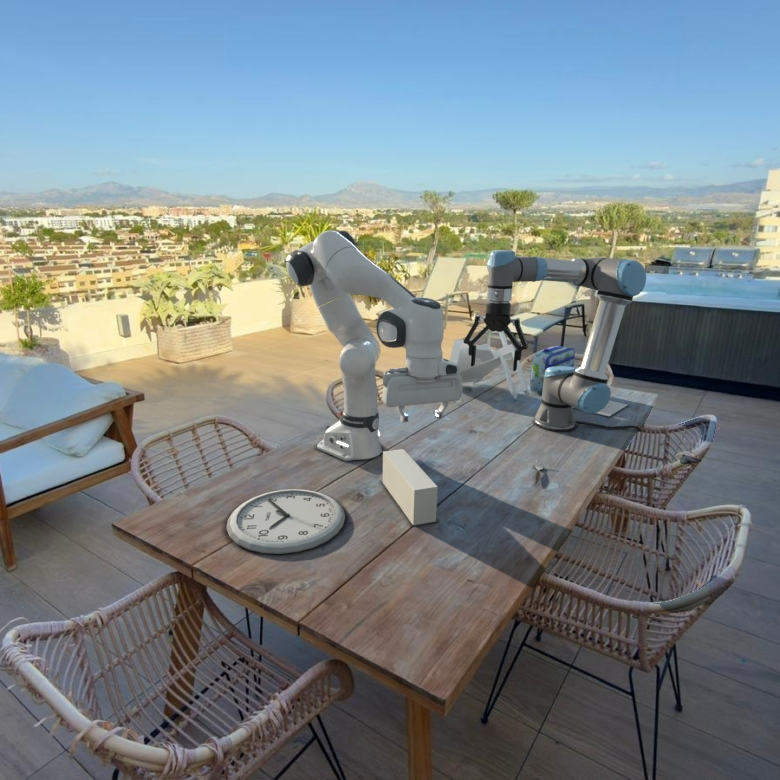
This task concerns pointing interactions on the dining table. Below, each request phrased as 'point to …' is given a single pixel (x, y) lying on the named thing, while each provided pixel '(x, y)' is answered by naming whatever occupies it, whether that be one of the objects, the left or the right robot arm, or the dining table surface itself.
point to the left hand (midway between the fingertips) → (421, 419)
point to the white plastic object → (486, 362)
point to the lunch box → (549, 364)
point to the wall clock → (285, 521)
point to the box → (410, 487)
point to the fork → (538, 469)
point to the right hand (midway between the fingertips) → (493, 367)
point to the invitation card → (611, 408)
